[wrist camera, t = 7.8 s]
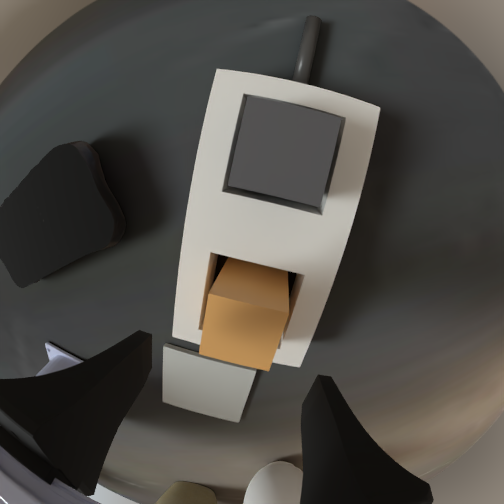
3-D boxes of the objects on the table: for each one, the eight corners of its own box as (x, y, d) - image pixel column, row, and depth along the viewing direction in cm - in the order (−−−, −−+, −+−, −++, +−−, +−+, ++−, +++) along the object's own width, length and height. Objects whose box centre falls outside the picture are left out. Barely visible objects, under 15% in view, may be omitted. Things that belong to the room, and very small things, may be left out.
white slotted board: (298, 342, 21) (299, 367, 18) (185, 314, 21) (172, 336, 18) (377, 42, 13) (391, 25, 10) (247, 11, 13) (241, -10, 10)
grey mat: (239, 419, 24) (238, 422, 24) (164, 398, 25) (162, 401, 24) (256, 367, 22) (256, 371, 21) (165, 342, 22) (163, 346, 22)
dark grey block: (307, 192, 17) (319, 207, 11) (245, 177, 17) (227, 185, 12) (321, 132, 16) (341, 117, 10) (259, 117, 16) (247, 95, 10)
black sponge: (105, 130, 17) (74, 127, 14) (142, 231, 19) (115, 246, 16) (8, 212, 21) (-16, 220, 17) (35, 283, 23) (13, 297, 19)
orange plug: (273, 316, 20) (268, 371, 14) (220, 303, 20) (198, 353, 15) (287, 267, 19) (289, 313, 13) (230, 253, 19) (208, 293, 13)
